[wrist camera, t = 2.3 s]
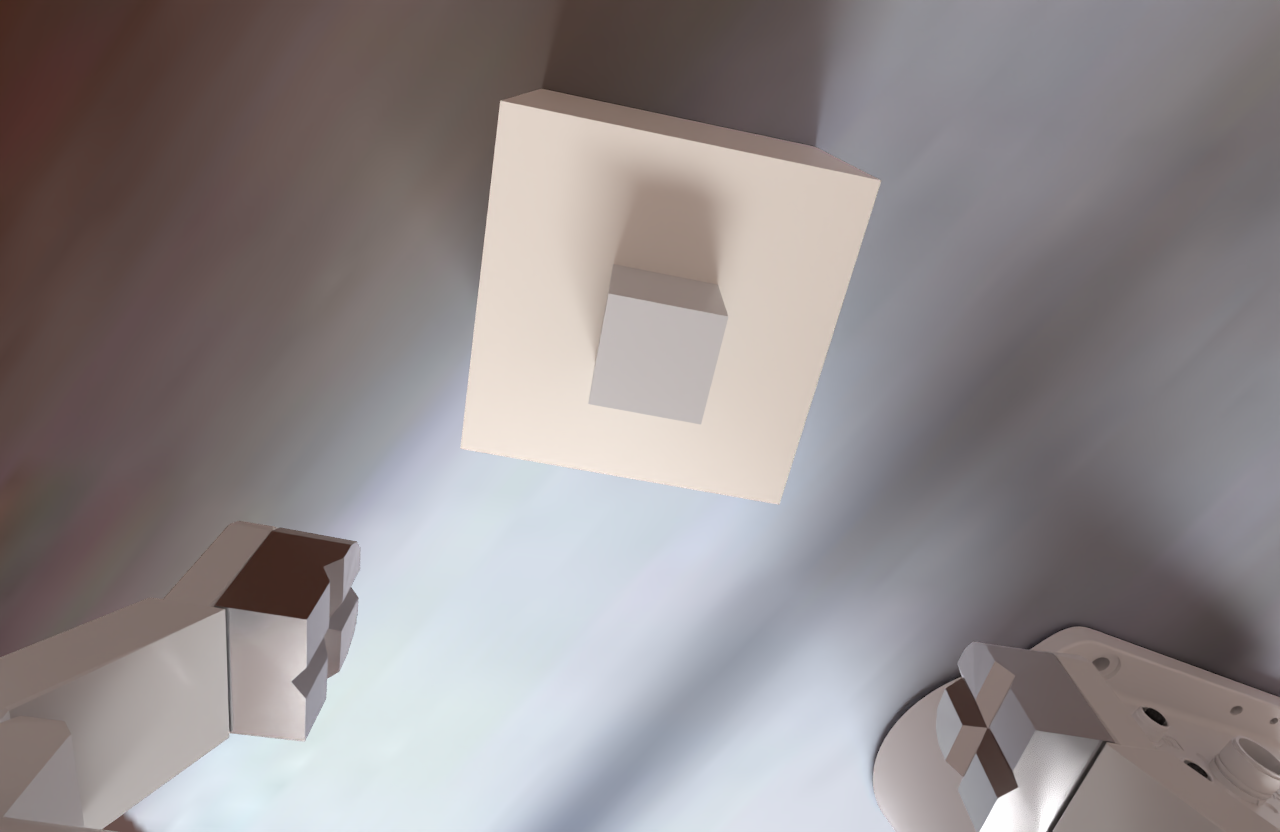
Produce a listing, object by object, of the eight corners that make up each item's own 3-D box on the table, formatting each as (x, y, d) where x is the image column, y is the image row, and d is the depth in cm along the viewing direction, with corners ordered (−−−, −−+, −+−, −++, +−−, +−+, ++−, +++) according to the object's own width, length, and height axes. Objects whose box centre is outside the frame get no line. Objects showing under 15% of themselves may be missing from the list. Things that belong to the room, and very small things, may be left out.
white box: (815, 146, 29) (917, 199, 18) (746, 396, 33) (795, 558, 22) (541, 88, 28) (477, 107, 17) (506, 351, 32) (437, 498, 22)
